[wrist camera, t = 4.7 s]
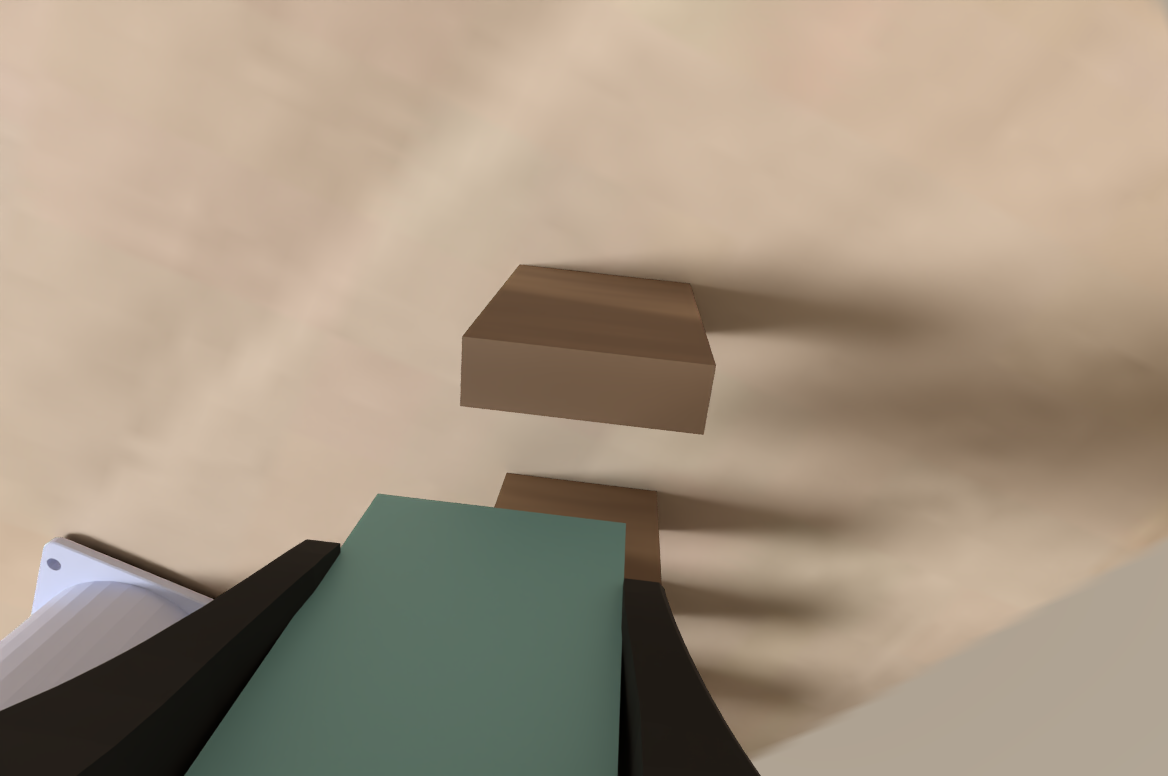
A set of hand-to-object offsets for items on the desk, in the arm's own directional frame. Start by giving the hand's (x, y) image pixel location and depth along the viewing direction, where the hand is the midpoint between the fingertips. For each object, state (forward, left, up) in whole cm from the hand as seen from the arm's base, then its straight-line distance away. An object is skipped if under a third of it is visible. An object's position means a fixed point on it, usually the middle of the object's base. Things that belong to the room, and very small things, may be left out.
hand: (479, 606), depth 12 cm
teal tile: (0, 0, -2) cm, 2 cm away
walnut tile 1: (+3, 0, -10) cm, 11 cm away
